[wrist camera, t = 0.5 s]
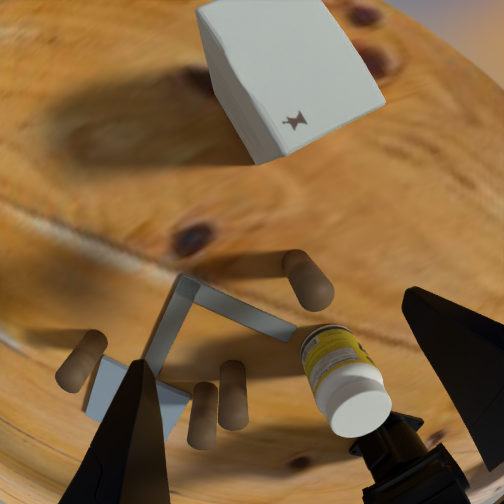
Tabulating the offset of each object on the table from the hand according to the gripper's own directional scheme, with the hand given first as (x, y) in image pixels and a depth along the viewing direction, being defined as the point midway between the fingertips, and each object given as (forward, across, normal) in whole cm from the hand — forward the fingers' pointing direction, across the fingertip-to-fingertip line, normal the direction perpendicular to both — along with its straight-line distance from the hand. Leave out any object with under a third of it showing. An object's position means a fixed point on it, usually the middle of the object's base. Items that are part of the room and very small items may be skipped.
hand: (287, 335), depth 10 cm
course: (+11, +3, +8) cm, 14 cm away
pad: (+10, +11, +16) cm, 22 cm away
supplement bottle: (+9, -6, +13) cm, 17 cm away
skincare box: (+15, -4, -4) cm, 16 cm away
